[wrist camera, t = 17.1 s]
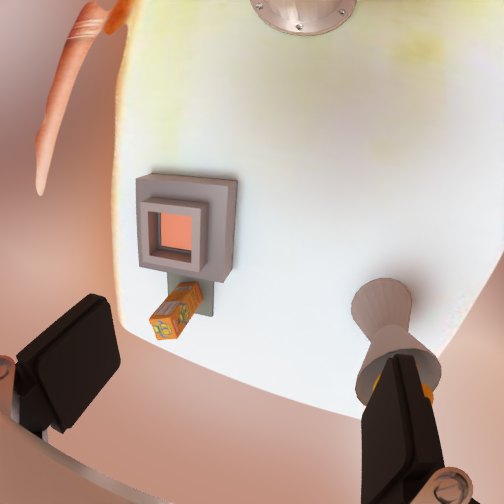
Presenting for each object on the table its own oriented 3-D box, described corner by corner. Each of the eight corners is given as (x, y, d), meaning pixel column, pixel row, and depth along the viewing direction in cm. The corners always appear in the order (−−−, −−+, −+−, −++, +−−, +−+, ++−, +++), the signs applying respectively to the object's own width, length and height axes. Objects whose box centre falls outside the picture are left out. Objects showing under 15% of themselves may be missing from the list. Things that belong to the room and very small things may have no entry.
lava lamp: (343, 329, 43) (328, 590, 11) (357, 272, 39) (379, 573, 8) (401, 336, 41) (437, 579, 10) (420, 281, 38) (511, 543, 6)
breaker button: (171, 205, 40) (160, 211, 37) (203, 209, 39) (194, 216, 37) (171, 237, 42) (161, 245, 39) (202, 242, 41) (193, 251, 38)
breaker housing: (151, 173, 40) (124, 182, 35) (237, 180, 38) (221, 190, 33) (153, 255, 45) (129, 274, 39) (231, 269, 43) (216, 292, 37)
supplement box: (205, 300, 45) (178, 341, 36) (184, 302, 46) (154, 341, 37) (199, 280, 44) (169, 318, 35) (178, 282, 45) (145, 318, 36)
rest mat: (168, 264, 45) (166, 266, 45) (214, 273, 44) (212, 274, 43) (170, 305, 48) (168, 307, 47) (212, 315, 47) (211, 316, 46)
